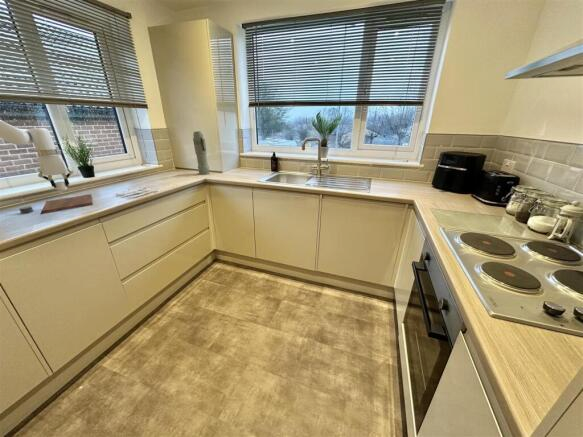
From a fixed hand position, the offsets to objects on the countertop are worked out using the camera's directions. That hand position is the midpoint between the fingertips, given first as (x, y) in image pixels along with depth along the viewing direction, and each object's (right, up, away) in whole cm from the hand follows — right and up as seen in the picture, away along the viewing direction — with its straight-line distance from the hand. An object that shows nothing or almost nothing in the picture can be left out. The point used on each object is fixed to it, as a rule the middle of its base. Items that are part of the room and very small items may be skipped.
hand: (61, 186), depth 133 cm
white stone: (0, -2, 0) cm, 2 cm away
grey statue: (+52, +21, +77) cm, 95 cm away
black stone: (-6, -16, -11) cm, 20 cm away
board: (0, -10, +4) cm, 10 cm away
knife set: (+30, +1, +28) cm, 41 cm away
